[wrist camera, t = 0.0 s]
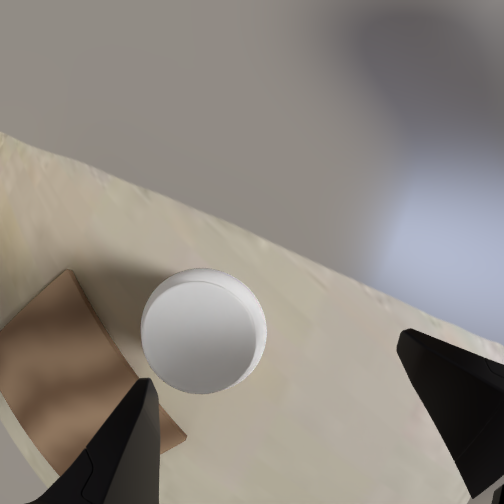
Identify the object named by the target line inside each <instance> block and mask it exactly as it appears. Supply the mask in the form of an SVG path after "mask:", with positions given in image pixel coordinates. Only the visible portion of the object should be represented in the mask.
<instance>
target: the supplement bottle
mask: <svg viewBox="0 0 504 504" xmlns="http://www.w3.org/2000/svg"><path fill="white" fill-rule="evenodd" d="M266 336H267V328H266V321H265V316H264V313H263V310H262V308H261V305H260V303H259V301H258V300H257V298H256V297H255V295H254V294H253V293H252V291H251V290H250V289H249V288H248V287H247V286H246V285H245V284H244V283H242V282H241V281H240V280H238V279H237V278H235V277H233V276H232V275H230V274H227V273H225V272H222V271H219V270H215V269H209V268H196V269H189V270H185V271H182V272H179V273H176V274H174V275H172V276H171V277H169V278H167V279H166V280H164V281H163V282H162V283H161V284H160V285H159V286H158V287H157V288H156V289H155V290H154V291H153V292H152V294H151V295H150V297H149V299H148V301H147V303H146V305H145V307H144V310H143V314H142V318H141V340H142V347H143V352H144V354H145V357H146V359H147V361H148V363H149V365H150V367H151V368H152V370H153V371H154V372H155V373H156V375H157V376H158V377H159V378H160V379H162V380H163V381H164V382H165V383H167V384H168V385H170V386H171V387H173V388H176V389H178V390H180V391H183V392H187V393H192V394H209V393H214V392H218V391H222V390H225V389H228V388H230V387H233V386H235V385H236V384H238V383H240V382H241V381H242V380H244V379H245V378H246V377H247V376H248V375H249V374H250V373H251V372H252V371H253V370H254V368H255V367H256V365H257V364H258V362H259V360H260V359H261V356H262V354H263V351H264V348H265V344H266Z"/></svg>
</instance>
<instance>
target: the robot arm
mask: <svg viewBox="0 0 504 504" xmlns="http://www.w3.org/2000/svg"><path fill="white" fill-rule="evenodd" d="M397 353H398V356H399V358H400V360H401V362H402V364H403V366H404V368H405V371H406V373H407V375H408V377H409V379H410V381H411V383H412V385H413V387H414V389H415V390H416V392H417V394H418V395H419V397H420V399H421V401H422V402H423V404H424V406H425V408H426V409H427V411H428V413H429V415H430V417H431V418H432V420H433V422H434V424H435V426H436V427H437V429H438V431H439V433H440V435H441V437H442V438H443V440H444V442H445V444H446V446H447V448H448V450H449V452H450V454H451V456H452V458H453V460H454V461H455V464H456V466H457V468H458V470H459V472H460V474H461V476H462V478H463V480H464V482H465V485H466V487H467V489H468V491H469V493H470V495H471V497H472V499H474V498H475V497H476V496H478V495H479V494H481V493H482V492H483V491H484V490H486V489H487V488H488V487H489V486H491V485H492V484H493V483H495V482H496V481H497V480H498V479H499V478H500V477H502V476H503V477H504V365H503V364H500V363H497V362H495V361H492V360H489V359H487V358H484V357H482V356H479V355H477V354H474V353H472V352H469V351H467V350H464V349H462V348H459V347H456V346H454V345H451V344H449V343H446V342H444V341H441V340H439V339H436V338H434V337H431V336H429V335H426V334H424V333H422V332H419V331H417V330H414V329H411V328H410V329H406V330H403V331H402V332H401V333H400V337H399V340H398V344H397ZM160 443H161V435H160V419H159V399H158V394H157V392H156V389H155V387H154V385H153V382H152V380H151V379H150V378H139V379H138V380H137V381H136V382H135V383H134V385H133V386H132V387H131V388H130V390H129V391H128V392H127V394H126V395H125V396H124V397H123V399H122V400H121V401H120V403H119V404H118V405H117V406H116V408H115V409H114V410H113V412H112V413H111V414H110V415H109V417H108V418H107V419H106V421H105V422H104V423H103V425H102V426H101V427H100V428H99V430H98V431H97V432H96V434H95V435H94V436H93V438H92V439H91V440H90V442H89V443H88V444H87V445H86V448H84V449H83V451H82V452H81V453H80V454H79V456H78V457H77V458H76V459H75V461H74V462H73V463H72V464H71V466H70V467H69V468H68V469H67V470H66V471H65V472H64V473H63V474H62V475H61V476H60V477H59V478H58V479H57V480H56V481H55V482H54V483H53V485H52V486H51V487H50V488H49V489H48V490H47V491H46V492H45V493H44V494H43V495H42V496H40V497H39V498H38V499H36V500H34V501H32V502H30V503H26V504H159V465H160ZM492 504H504V483H503V484H502V485H501V486H500V487H499V488H498V489H496V490H495V491H494V495H493V500H492Z"/></svg>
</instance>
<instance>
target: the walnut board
mask: <svg viewBox="0 0 504 504" xmlns="http://www.w3.org/2000/svg"><path fill="white" fill-rule="evenodd" d="M138 379H139V377H138V376H137V375H136V373H135V372H134V371H133V369H132V368H131V367H130V365H129V364H128V362H127V361H126V360H125V358H124V357H123V355H122V354H121V352H120V351H119V349H118V348H117V346H116V345H115V343H114V342H113V340H112V339H111V337H110V336H109V334H108V333H107V331H106V330H105V328H104V326H103V325H102V323H101V321H100V320H99V318H98V317H97V315H96V313H95V312H94V310H93V308H92V306H91V305H90V303H89V301H88V299H87V298H86V296H85V294H84V292H83V290H82V289H81V287H80V285H79V283H78V281H77V279H76V277H75V275H74V273H73V271H72V270H69V269H67V270H65V271H64V272H63V273H62V274H61V275H59V276H58V277H57V278H56V279H55V280H54V281H53V282H51V283H50V284H49V285H48V286H47V287H46V288H45V289H44V290H43V291H41V292H40V293H39V294H38V295H37V296H36V297H35V298H34V299H33V300H32V301H31V302H30V303H28V304H27V305H26V306H25V307H24V308H23V309H22V310H21V311H20V312H19V313H18V314H17V315H16V316H15V317H14V318H13V319H12V320H11V321H10V322H9V323H8V324H7V325H6V326H5V327H4V328H3V329H2V330H1V331H0V391H1V393H2V395H3V396H4V398H5V400H6V402H7V403H8V405H9V407H10V408H11V410H12V412H13V413H14V415H15V417H16V418H17V420H18V421H19V423H20V424H21V426H22V427H23V429H24V430H25V432H26V433H27V435H28V436H29V438H30V439H31V440H32V442H33V443H34V445H35V446H36V447H37V449H38V450H39V451H40V453H41V454H42V455H43V456H44V458H45V459H46V460H47V461H48V463H49V464H50V465H51V466H52V468H53V469H54V470H55V471H56V472H57V473H58V475H59V476H61V475H62V474H63V473H64V472H65V471H66V470H67V469H68V468H69V467H70V466H71V464H72V463H73V462H74V461H75V459H76V458H77V457H78V456H79V454H80V453H81V452H82V451H83V449H84V448H86V445H87V444H88V443H89V442H90V440H91V439H92V438H93V436H94V435H95V434H96V432H97V431H98V430H99V428H100V427H101V426H102V425H103V423H104V422H105V421H106V419H107V418H108V417H109V415H110V414H111V413H112V412H113V410H114V409H115V408H116V406H117V405H118V404H119V403H120V401H121V400H122V399H123V397H124V396H125V395H126V394H127V392H128V391H129V390H130V388H131V387H132V386H133V385H134V383H135V382H136V381H137V380H138ZM159 419H160V435H161V443H160V454H162V453H164V452H166V451H168V450H169V449H171V448H173V447H175V446H177V445H178V444H180V443H182V442H184V441H185V440H186V438H187V435H186V434H185V433H184V432H183V431H182V430H181V429H180V427H179V426H178V425H177V424H176V423H175V422H174V421H173V420H172V418H171V417H170V416H169V415H168V414H167V413H166V411H165V410H164V409H163V408H162V407H161V405H160V404H159Z"/></svg>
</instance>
